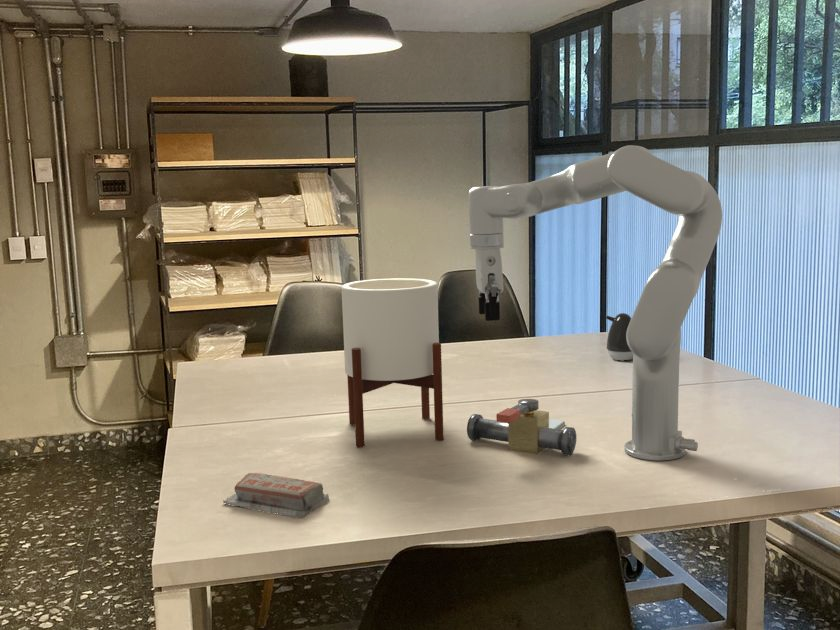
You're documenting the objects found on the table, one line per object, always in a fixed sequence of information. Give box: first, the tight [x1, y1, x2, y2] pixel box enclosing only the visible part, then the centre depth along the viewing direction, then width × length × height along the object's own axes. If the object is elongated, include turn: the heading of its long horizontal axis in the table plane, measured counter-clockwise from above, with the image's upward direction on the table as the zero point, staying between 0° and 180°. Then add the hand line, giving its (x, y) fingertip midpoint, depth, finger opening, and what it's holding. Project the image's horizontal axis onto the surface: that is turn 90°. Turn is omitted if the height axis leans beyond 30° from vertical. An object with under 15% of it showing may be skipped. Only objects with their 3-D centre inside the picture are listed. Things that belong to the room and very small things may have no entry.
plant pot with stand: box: [341, 277, 444, 448], centre depth 202 cm, size 22×22×36 cm
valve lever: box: [495, 398, 540, 423], centre depth 183 cm, size 14×4×2 cm, turn 147°
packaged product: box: [222, 472, 330, 519], centre depth 161 cm, size 18×5×10 cm
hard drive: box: [549, 418, 566, 430], centre depth 203 cm, size 2×8×12 cm
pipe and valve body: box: [466, 409, 577, 456], centre depth 189 cm, size 24×6×9 cm, turn 57°
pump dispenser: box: [605, 312, 634, 362], centre depth 275 cm, size 10×10×15 cm
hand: (489, 317), depth 194 cm, fingers open, 9 cm apart
